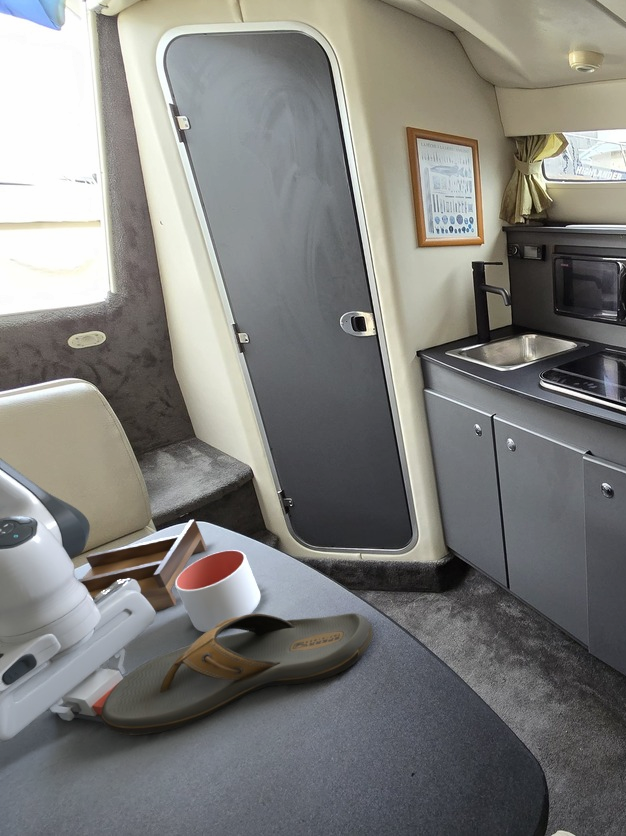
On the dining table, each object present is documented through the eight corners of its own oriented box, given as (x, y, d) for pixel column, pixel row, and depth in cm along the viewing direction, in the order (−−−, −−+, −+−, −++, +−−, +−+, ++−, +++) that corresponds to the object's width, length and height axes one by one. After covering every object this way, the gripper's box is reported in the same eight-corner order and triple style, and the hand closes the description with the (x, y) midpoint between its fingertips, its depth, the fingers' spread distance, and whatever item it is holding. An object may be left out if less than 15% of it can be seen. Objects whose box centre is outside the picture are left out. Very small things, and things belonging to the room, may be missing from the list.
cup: (209, 600, 92) (190, 557, 88) (269, 586, 94) (253, 544, 91) (184, 643, 83) (162, 597, 79) (252, 626, 86) (233, 581, 82)
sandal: (154, 663, 79) (131, 620, 76) (380, 615, 87) (368, 573, 83) (95, 752, 67) (64, 705, 63) (365, 686, 74) (350, 641, 71)
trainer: (57, 716, 72) (37, 687, 70) (95, 685, 76) (77, 656, 74) (107, 725, 70) (88, 695, 68) (143, 692, 75) (126, 663, 73)
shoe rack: (65, 636, 85) (43, 600, 83) (115, 571, 100) (98, 539, 97) (175, 607, 90) (159, 573, 87) (208, 549, 105) (195, 519, 102)
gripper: (114, 569, 77) (148, 634, 83) (-68, 691, 59) (-10, 765, 64) (147, 573, 76) (179, 638, 82) (-28, 698, 58) (28, 773, 63)
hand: (95, 695), depth 73 cm, fingers closed on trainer, 4 cm apart
